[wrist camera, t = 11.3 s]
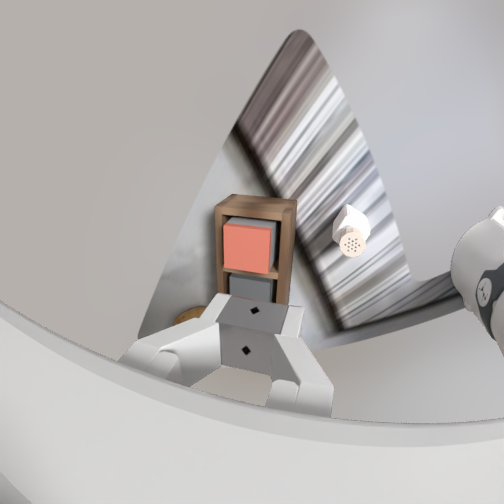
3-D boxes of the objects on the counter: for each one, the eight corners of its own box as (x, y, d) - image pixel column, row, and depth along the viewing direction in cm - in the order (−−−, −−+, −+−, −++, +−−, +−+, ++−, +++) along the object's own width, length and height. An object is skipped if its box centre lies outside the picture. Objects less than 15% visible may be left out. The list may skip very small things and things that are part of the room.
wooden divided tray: (297, 200, 43) (289, 214, 36) (288, 303, 50) (280, 328, 44) (232, 194, 45) (214, 206, 39) (232, 293, 53) (218, 316, 47)
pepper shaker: (345, 201, 41) (347, 222, 32) (368, 216, 41) (375, 240, 32) (331, 223, 43) (329, 249, 34) (353, 237, 43) (356, 266, 34)
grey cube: (278, 264, 47) (270, 283, 41) (276, 296, 49) (268, 317, 44) (242, 258, 48) (229, 276, 43) (241, 290, 51) (230, 310, 45)
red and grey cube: (279, 216, 41) (269, 230, 36) (277, 255, 44) (267, 274, 38) (238, 211, 43) (223, 225, 37) (238, 249, 45) (224, 267, 40)
